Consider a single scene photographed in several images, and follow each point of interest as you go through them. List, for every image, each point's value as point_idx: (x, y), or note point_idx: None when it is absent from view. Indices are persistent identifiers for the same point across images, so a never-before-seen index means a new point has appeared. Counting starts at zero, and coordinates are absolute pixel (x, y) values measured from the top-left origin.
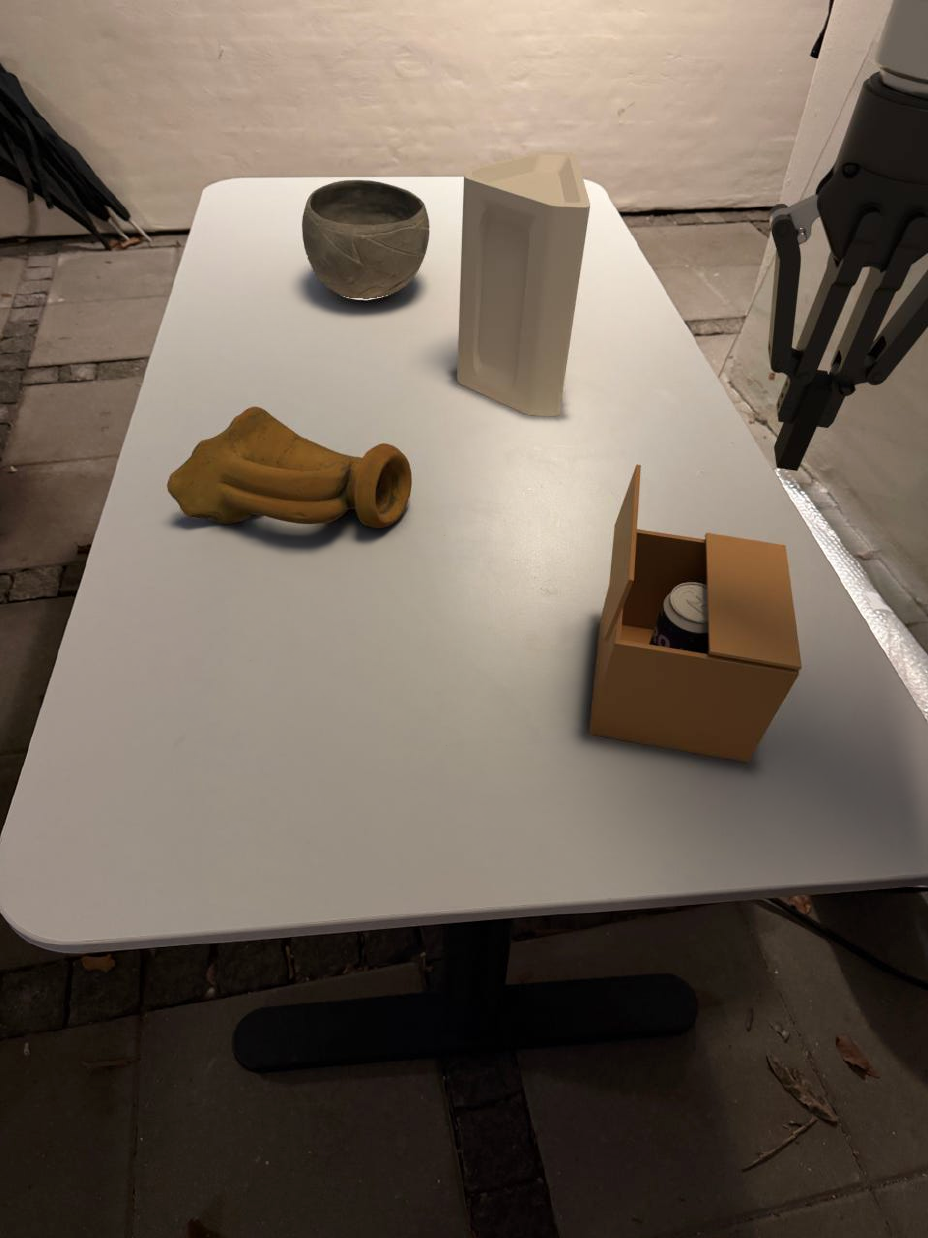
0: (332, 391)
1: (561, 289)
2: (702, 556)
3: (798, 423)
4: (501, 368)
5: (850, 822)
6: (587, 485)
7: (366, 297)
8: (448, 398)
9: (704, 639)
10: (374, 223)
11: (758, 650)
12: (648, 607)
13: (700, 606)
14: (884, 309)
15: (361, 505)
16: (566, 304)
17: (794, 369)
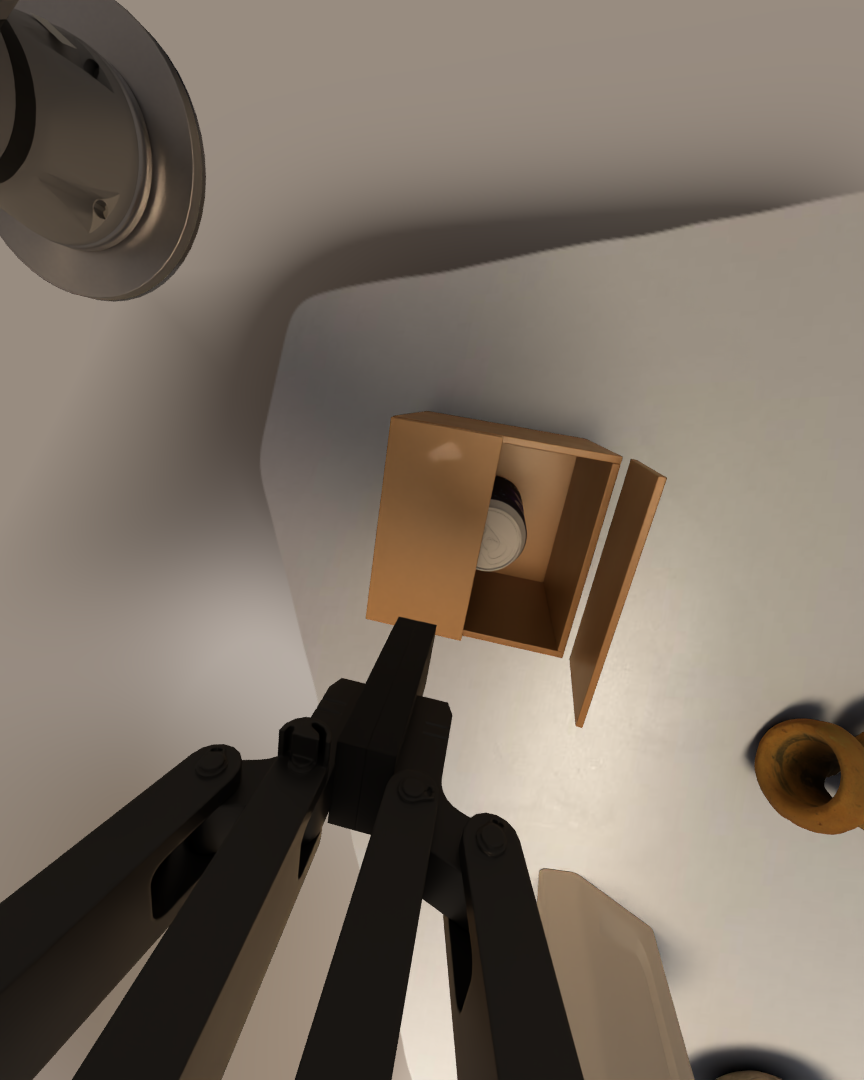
0: (818, 933)
1: None
2: None
3: (410, 686)
4: (615, 943)
5: (343, 347)
6: (526, 768)
7: (762, 1078)
8: (668, 906)
9: None
10: None
11: (439, 441)
12: (504, 586)
13: (485, 532)
14: (93, 1072)
15: (852, 741)
16: None
17: (437, 822)
